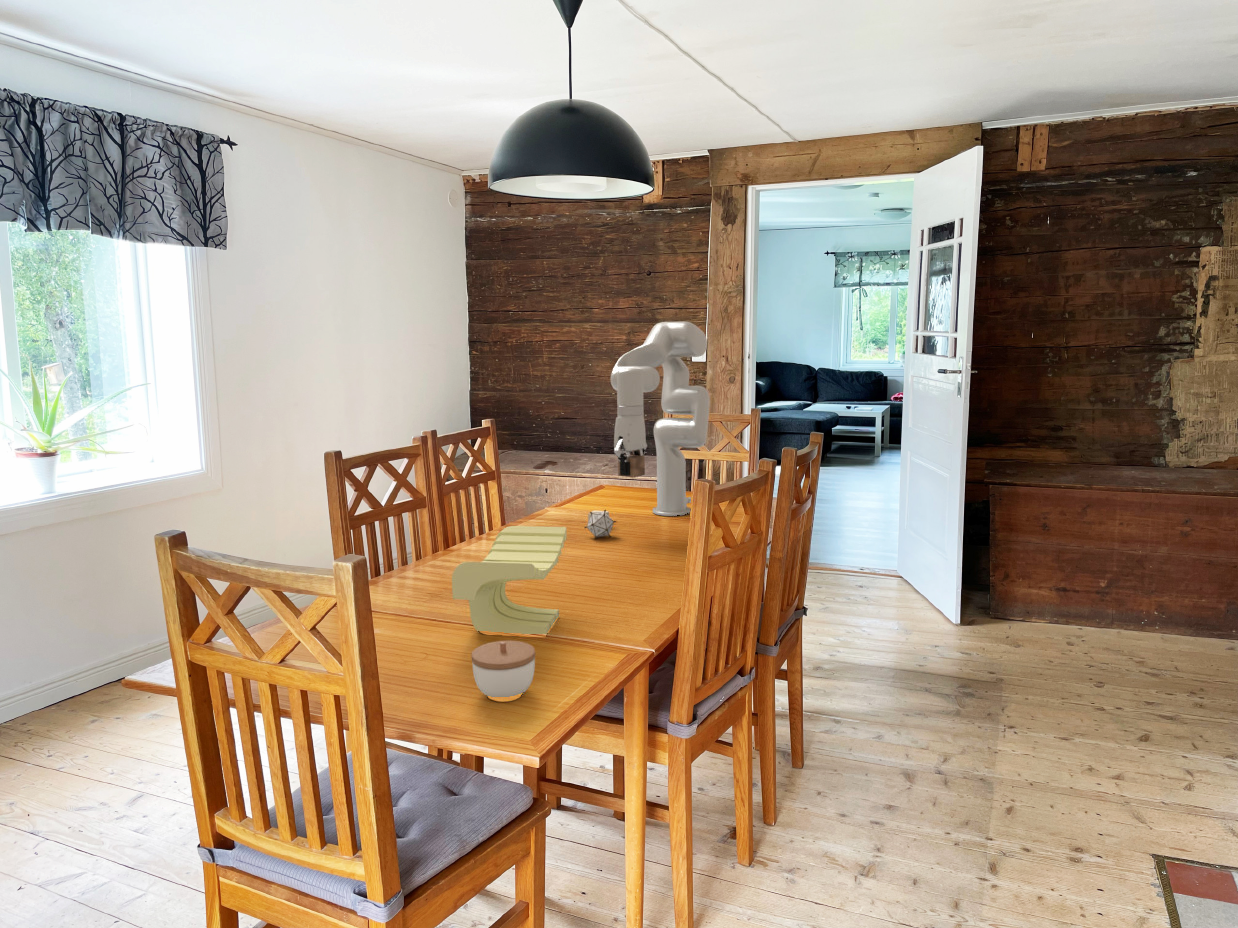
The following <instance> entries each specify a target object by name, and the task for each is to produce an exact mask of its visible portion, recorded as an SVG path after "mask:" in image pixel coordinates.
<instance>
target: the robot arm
mask: <svg viewBox="0 0 1238 928" xmlns="http://www.w3.org/2000/svg"><path fill="white" fill-rule="evenodd" d="M707 349H708V340H707V335H706V334H705V332H704V331H703V330H702V329H701V328H699V327H698V326H697V325H695V324H694V323H692V322H690V321H661V322H658V323H656V324H654V326H653V327H652V328H651V330H650V331H649V333H648V335H647V336H646V339H645V340H644V342H643V344H641V345H639V346H637V347H636V348H633V349H632V350H630V351H627V352H626V353H624V354H623V355H621V356H620V357H619V358H618V360H617V361H616V363H615V364H614V366H613V368H612V371H611V373H610V384H611V386H612V388H613V389H614V390H615V391H616V396H617V397H616V399H617V400H616V401H617V402H616V403H617V404H616V405H617V414H616V415H617V416H616V417H615V424H614V434H613V435H614V436H613V447H614V448H613V449H614V450H613V453H614V454H615V455H616V457H617V460H618V459H619V462H620V475H624V476H630V462H628V461H629V455H631V452H632V455H639V456H644V454H645V452H646V449H647V447H648V444H647V440H646V439H647V438H646V437H647V435H646V434H647V433H646V424H645V423H646V422H645V417H644V416H645V415H644V414H645V413H644V411H645V409H644V393H650V392H653V391H655V390H656V389H657V388H658V386H659V384H660V382H661V381H660V379H661V377H660V373H659V371H658V370H657V369H656V368H657V367H660V366H662V370H663V377H662V378H663V379H662V380H663V381H662V390H661V401H660V402H661V405H660V406H661V409H662V411H663V412H664V413H666V414H669V415H681V416H682V415H683V416H687V415H688V416H690V415H691V416H693V417H692V418H690V417H687V418H685V417H664V418H663V417H662V418H660V419H658V420H657V421H655V423H654V426H653V437H654V442H655V443H654V444H655V449H656V452H655V453H656V501H657V503H656V507H653V508H652V513H653V514H655V515H658V516H665V517H678V516H677V515H680V516H686V515H688V514H690V513H691V508H690V507H688V506H687V505H688V504H691V503H692V502H691V498H692V497H690V496H688V497H687V495H686V493H687V490H686V489H687V488H686V487H687V486H686V484H687V483H686V482H687V481H686V480H687V479H686V477H687V476H686V472H687V471H686V467H687V466H686V465H687V463H686V457H685V455H684V454H683V452H682V451H681V449H680V448H690V449H691V448H695V449H696V448H697V449H698V448H699V449H700V448H702V447H703V446H704V445H705V444H706V442H707V437H708V429H709V416H710V407H711V406H710V405H711V404H710V403H711V402H710V401H711V399H710V394H709V390H708V389H707V388H706V387H704V386H700V385H690V384H689V382H690V369H689V367H687V365H686V363H685V362H684V361H683V360H682V358H699V357H703V355H705V353H706V351H707ZM625 455H626V456H625ZM624 476H623V477H624ZM687 513H688V514H687ZM685 514H686V515H685Z"/></svg>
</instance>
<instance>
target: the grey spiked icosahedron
mask: <svg viewBox="0 0 1238 928" xmlns="http://www.w3.org/2000/svg"><path fill="white" fill-rule="evenodd" d="M591 512H592V513H600V512H604V510H592V511H591ZM605 513H606V514H607V515H608V516H609V517H610V511H607V510H606V512H605ZM587 516H588V517H587V518H588V521H587V522H589V519H590V516H591V514H590V512H588V515H587Z"/></svg>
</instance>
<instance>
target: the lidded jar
mask: <svg viewBox="0 0 1238 928" xmlns="http://www.w3.org/2000/svg"><path fill="white" fill-rule="evenodd" d="M471 662H472V672H473V679H474V681H475V683H476V686H477V688H478V690H480V692H481V693H482V694H483V695H485V696H486V695H487V696H491V697H510V696H515V695H518V694H521V693H523V692H524V693H525V692H526V691H527V690H528V689H529V688H530V685H531V684H532V682H533V680H534V674H535V669H536V664H535V663H536V649H535V647H534V646H533V645H531V644H530V643H528V642H525V641H518V640H497V641H492V642H491V641H490V642H487V643H484V644H481V645H480V646H478V647H476V648H475V649H473V651H471ZM524 693H523V694H524ZM487 696H486V697H487Z"/></svg>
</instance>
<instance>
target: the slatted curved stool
mask: <svg viewBox="0 0 1238 928" xmlns="http://www.w3.org/2000/svg"><path fill="white" fill-rule="evenodd" d="M567 536H568V535H567V526H537V525H536V526H533V525H532V526H531V525H530V526H529V525H510V526H507V527H505V528H502V529H501V531H500V532H499V533H498V534H497V536H495V537H496V538H495V540H494V542H493V543H492V546H491V548H490V549H489V551H488V555H486V557H485V558H483V560H481V561H464V562H461V563H459V565H457V566H456V567H455V568H454V570H453V572H452V575H451V589H452V590H451V591H452V599H453V600H465V601H466V600H467V601H468V605H469V611H470V612H469V613H470V620H471V624H472V625H473V628H474V629H475V630H476V631H477V632H478V631H489V632H490V631H491V632H504V633H521V634H547V632H548V631H549V629H550V628H551V626H552V625H553V623H554V622H555V620H556V619H557V618H558V617H559V615H560V609H556V608H555V609H552V608H539V607H537V608H536V607H531V606H525V605H521V604H517V603H515V602H513V601H511V600H510V599H509V598H508V597H507V594H506V584H507V582H512V581H524V580H525V581H526V580H529V581H530V580H542V581H543V580H545V578H546V577H548V574H549V573H551V571H552V570H553V569H554V567H556V566H557V564H558V563H559V557H560V556H561V555H562V550H563V548H564V547H565V542H566V541H567V539H568V538H567ZM559 618H560V617H559ZM555 623H556V622H555Z"/></svg>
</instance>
